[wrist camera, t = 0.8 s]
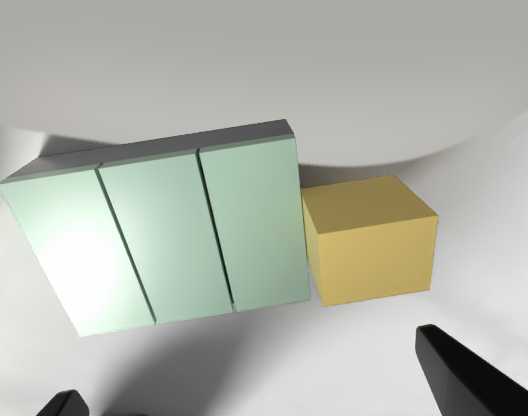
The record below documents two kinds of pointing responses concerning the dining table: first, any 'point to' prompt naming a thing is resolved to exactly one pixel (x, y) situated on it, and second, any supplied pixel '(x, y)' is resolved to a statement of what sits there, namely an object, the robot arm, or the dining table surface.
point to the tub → (156, 148)
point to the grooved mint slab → (205, 237)
